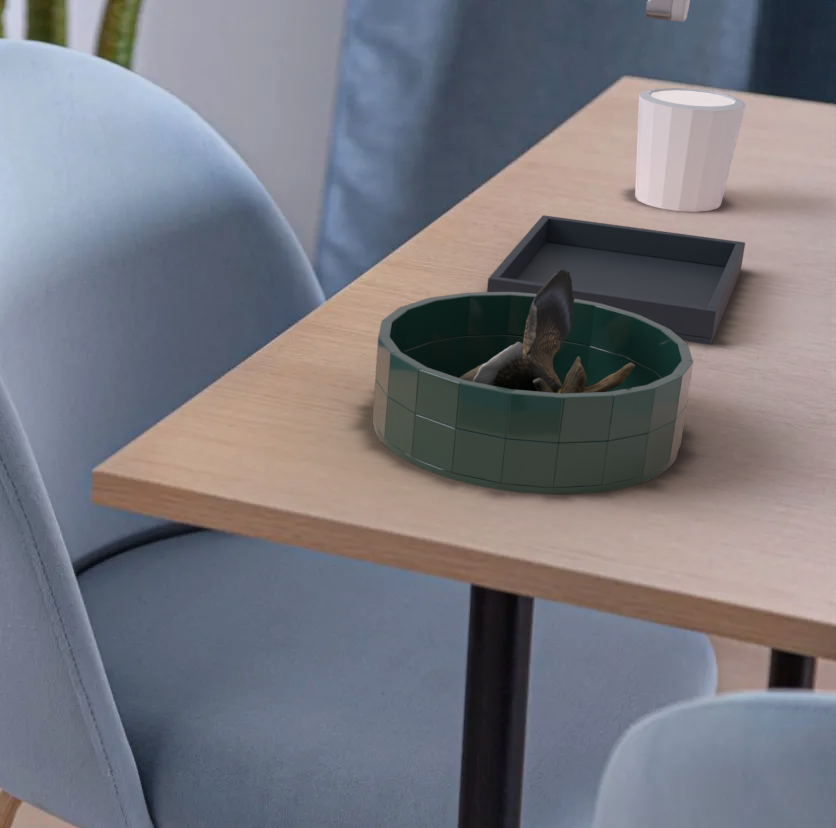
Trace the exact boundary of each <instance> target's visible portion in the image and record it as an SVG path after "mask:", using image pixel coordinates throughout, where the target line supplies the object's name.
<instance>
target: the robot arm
mask: <svg viewBox="0 0 836 828" xmlns="http://www.w3.org/2000/svg"><path fill="white" fill-rule="evenodd" d="M690 5H691V0H647V1H646V6H645V19H652V20H659V21H667V22H668V21H670V22H681V23H685V21H686V20H687V18H688V13H689V9H690Z"/></svg>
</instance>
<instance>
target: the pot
mask: <svg viewBox="0 0 836 828" xmlns="http://www.w3.org/2000/svg"><path fill="white" fill-rule="evenodd" d="M536 295H537V294H532V293H519V292H487V291H481V292H480V291H479V292H475V291H474V292H462V293H461V292H460V293H455V294H447V295H440V296H433V297H427V298H424V299H421V300H418V301H415V302H412V303H408V304H405V305H402V306H400V307H397V308H396V309H395V310H394V311H392V312H391V313H390V314H388V315H387V316H386V317H384V318H383V319H382V320H381V322H380V326H379V331H378V336H377V348H376V351H377V352H376V364H375V379H374V390H373V391H374V392H373V404H372V405H373V407H372V424H373V429H374V433H375V434H376V436H377V438H378V440H379V441H380V442H381V443H382V444H383V445H384V446H385V447H386V448H387V449H388V450H390V451H391V452H392V453H393V454H394V455H396V456H397V457H400V458H401V459H402V460H404V461H405V462H407V463H409V464H412V465H414V466H416V467H417V468H420V469H421V470H425V471H427V472H430V473H433V474H435V475H438V476H440V477H444V478H447V479H450V480H454V481H457V482H461V483H465V484H469V485H473V486H477V487H482V488H487V489H494V490H499V491H506V492H515V493H524V494H538V495H580V494H581V495H583V494H593V493H603V492H608V491H615V490H621V489H625V488H628V487H633V486H637V485H640V484H643V483H645V482H648V481H650V480H652V479H654V478H655V477H658V476H660V475H661V474H663V473H664V472H666V471H667V470H668V469H669V468H670V467H671V466H672V465H673V464H674V463H675V461H676V459H677V457H678V453H679V449H680V448H681V445H682V439H683V433H684V432H683V431H684V428H685V427H684V426H685V419H686V412H687V404H688V399H689V394H690V386H691V380H692V372H693V367H694V359H693V355H692V352H691V348H690V345H689V344H688V343H687V341H683V340H682V339H681V338H680V337H679V336H677V335H676V334H675V333H674V332H673V331H672V330H670V329H669V328H667V327H664V326H662V325H660V324H658V323H656V322H654V321H651V320H649V319H647V318H645V317H643V316H641V315H638V314H635V313H632V312H628V311H625V310H621V309H618V308H615V307H611V306H608V305H604V304H601V303H596V302H591V301H585V300H579V299H574V303H573V311H572V317H571V329H570V331H569V333H568V335H567V337H566V338H565V339H564V340H563V341H561V345H560V348H559V350H558V352H557V353H556V354H555V355H554V357H553V369H554V372H555V373H556V375H557V376H558V378H559V380H560V382H561V385H562V386H563V384H564V381H565V378H566V376H567V373H568V372H569V371H570V369H571V367H572V366H573V364H574V362H575V360H576V358H577V357H578V356H579V357H580V358H581V365H582V366H583V368H584V371H585V374H586V383H585V387H590V386H593V385H595V384H597V383H599V382H600V381H602V380H603V379H604V378H606V377H608V376H609V375H611V374H614V373H616V372H617V371H619V370H620V369H621V368H623V367H624V366H626V365H627V364H629V363H633V364H634V365H635V367H634V368H633V370H632V371H631V372H630V374H629V375H628V376H627V377H626V379H625V380H624V381H623V382H622V383H621V384H619V385H618V386H616V387H614V388H613V389H611V390H609V391H606V392H594V393H563V394H562V393H550V392H538V391H525V390H513V389H507V388H502V387H497V386H492V385H487V384H482V383H476V382H471V381H466V380H463V379H460V377H461V376H463V375H464V374H466V373H468V372H469V371H471V370H473V369H475V368H477V367H478V366H480V365H483V364H485V363H487V362H488V361H489V360H490V359H492V358H493V357H495V356H496V355H498V354H499V353H500V352H502V351H504V350H505V349H507V348H508V347H510V346H511V345H514V344H516V342H521V343H522V345H523V342H524V333H525V328H526V321H527V318H528V315H529V311H530V307H531V304H532V302H533V300H534V298H535V296H536Z"/></svg>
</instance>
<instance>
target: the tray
mask: <svg viewBox="0 0 836 828" xmlns="http://www.w3.org/2000/svg"><path fill="white" fill-rule="evenodd" d="M745 248H746V242H744V241H738V240H729V239H722V238H717V237H716V238H715V237H709V236H708V237H706V236H701V235H700V236H699V235H694V234H693V235H692V234H685V233H678V232H672V231H671V232H670V231H662V230H656V229H649V228H643V227H633V226H627V225H618V224H612V223H611V224H610V223H603V222H596V221H590V220H589V221H588V220H581V219H574V218H566V217H559V216H552V215H545V214H543V215H542V216H541V217H540V218H538V220H537V222H535V224H534V225H532V227H531V228H530V229H529V230H528V232H527V233H526V234H525V235H524V237H522V239H521V240H520V241H519V242H518V244H517V245H515V247H514V248H513V249H512V250H511V252H510V253H509V254H507V256H506V257H505V258H504V260H503V261H502V262H501V263H500V264H499V265H498V266H497V268H496V269H495V270H494V271H493V272H492V273H491V275H489V277H488V278H487V287H486V288H487V289H486V292H519V293H532V294H537V293H538V292H539V291H540V289H541V288H542V287H543V286H544V285H545V284H546V283H547V282H548V281H549V279H550V278H551V277H552V276H553V275H554V274H555V273H556V271H558V270H560V269H561V270H562V269H564V270H567V271H569V272H570V277H571V279H572V283H571V284H572V293H573V297H574V299H579V300H585V301H591V302H596V303H601V304H604V305H608V306H611V307H615V308H618V309H621V310H625V311H628V312H632V313H635V314H638V315H641V316H643V317H645V318H647V319H649V320H651V321H654V322H656V323H658V324H660V325H662V326H664V327H667V328H669V329H670V330H672V331H673V332H674V333H675V334H676V335H677V336H679V337H680V338H681V339H682V340H683V341H685V342H690V343H694V344H695V343H696V344H702V345H710V346H711V345H712V343H713V341H714V338H715V336H716V333H717V331H718V329H719V326H720V323H721V321H722V318H723V317H724V314H725V311H726V309H727V307H728V304H729V301H730V300H731V297H732V294H733V292H734V290H735V287H736V285H737V283H738V280H739V278H740V276H741V272H742V265H743V261H744V253H745Z"/></svg>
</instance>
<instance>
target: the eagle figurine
mask: <svg viewBox="0 0 836 828" xmlns="http://www.w3.org/2000/svg"><path fill="white" fill-rule="evenodd" d="M571 283H572V279H571V277H570V272H569V271H567V270H564V269H562V270H561V269H560V270H558V271H556V273H555V274H554V275H553V276H552V277H551V278H550V279H549V281H548V282H547V283H546V284H545V285H544V286H543V287H542V288H541V289H540V291H539V292H538V293H537V295H536V296H535V298H534V300H533V302H532V304H531V307H530V311H529V315H528V318H527V321H526V328H525V333H524V342H523V345H522V343H521V342H516V344H514V345H511V346H510V347H508V348H507V349H505V350H504V351H502V352H500V353H499V354H498V355H496V356H495V357H493V358H492V359H490V360H489V361H488V362H487V363H485V364H483V365H480V366H478V367H477V368H475V369H473V370H471V371H469V372H468V373H466V374H464V375H463V376H461V377H460V379H463V380H466V381H471V382H476V383H482V384H487V385H492V386H497V387H502V388H507V389H513V390H525V391H538V392H550V393H562V394H563V393H594V392H606V391H609V390H611V389H613V388H614V387H616V386H618V385H619V384H621V383H622V382H623V381H624V380H625V379H626V377H627V376H628V375H629V374H630V372H631V371H632V370H633V368H634V367H635V365H634V364H633V363H629V364H627V365H626V366H624V367H623V368H621V369H620V370H619V371H617V372H616V373H614V374H611V375H609V376H608V377H606V378H604V379H603V380H602V381H600V382H599V383H597V384H595V385H593V386H590V387H585V383H586V374H585V371H584V368H583V366H582V365H581V358H580V357H579V356H578V357H577V358H576V360H575V362H574V364H573V366H572V367H571V369H570V371H569V372H568V373H567V376H566V378H565V381H564V384H563V386H562V385H561V382H560V380H559V378H558V376H557V375H556V373H555V372H554V369H553V357H554V355H555V354H556V353H557V352H558V350H559V348H560V345H561V341H563V340H564V339H565V338H566V337H567V335H568V333H569V331H570V329H571V317H572V311H573V303H574V297H573V293H572V284H571Z"/></svg>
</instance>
